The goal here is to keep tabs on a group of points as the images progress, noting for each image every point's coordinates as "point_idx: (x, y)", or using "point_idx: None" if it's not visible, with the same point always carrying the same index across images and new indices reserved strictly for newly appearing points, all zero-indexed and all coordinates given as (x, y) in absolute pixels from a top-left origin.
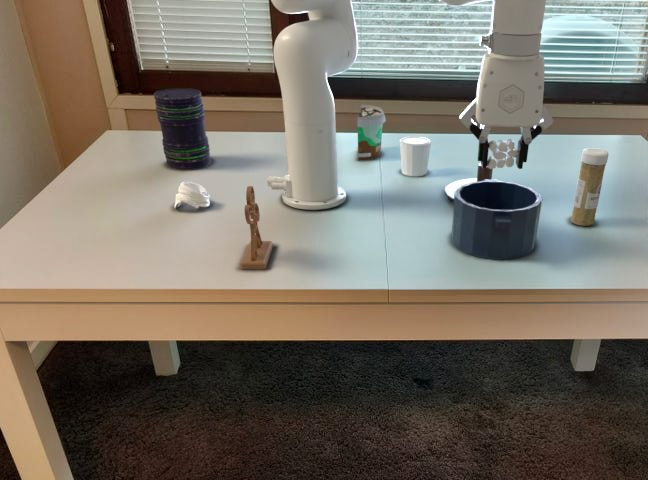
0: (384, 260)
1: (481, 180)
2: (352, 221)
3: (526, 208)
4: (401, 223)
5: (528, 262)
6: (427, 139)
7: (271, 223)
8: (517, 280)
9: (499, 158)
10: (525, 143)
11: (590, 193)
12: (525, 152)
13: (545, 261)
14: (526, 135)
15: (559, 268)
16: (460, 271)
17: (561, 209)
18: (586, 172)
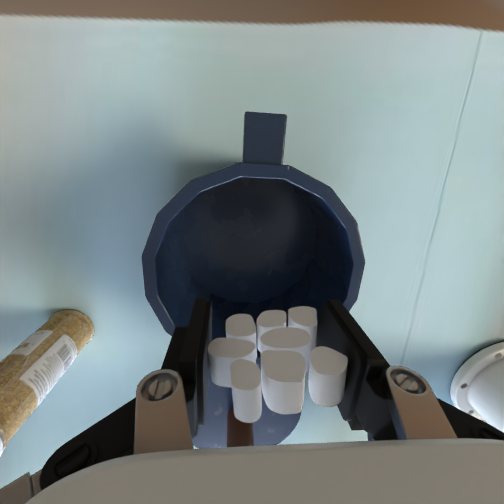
0: (454, 158)
1: (246, 428)
2: (462, 307)
3: (193, 188)
4: (388, 304)
5: (193, 151)
6: None
7: None
8: (226, 62)
9: (284, 331)
10: (176, 372)
11: (21, 353)
12: (178, 348)
13: (158, 156)
14: (166, 412)
15: (132, 122)
16: (331, 108)
17: (109, 372)
18: (1, 400)
